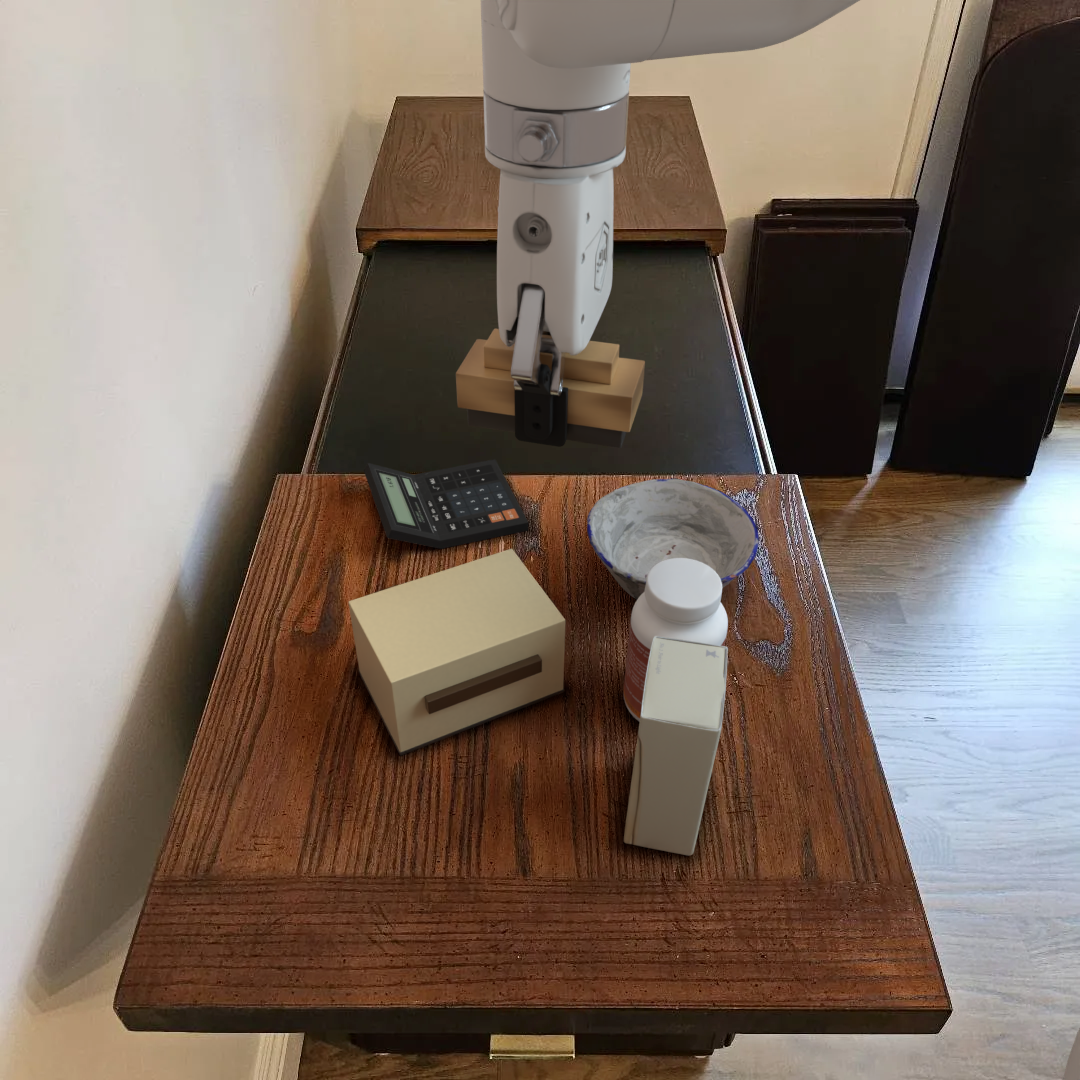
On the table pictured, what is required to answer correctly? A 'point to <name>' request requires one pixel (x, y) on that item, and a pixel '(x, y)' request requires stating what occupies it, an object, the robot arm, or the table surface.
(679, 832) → the cosmetic box
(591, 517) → the bowl
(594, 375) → the brush
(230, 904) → the table surface
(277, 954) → the table surface
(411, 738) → the bread box
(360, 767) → the table surface
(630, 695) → the pill bottle
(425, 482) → the calculator
